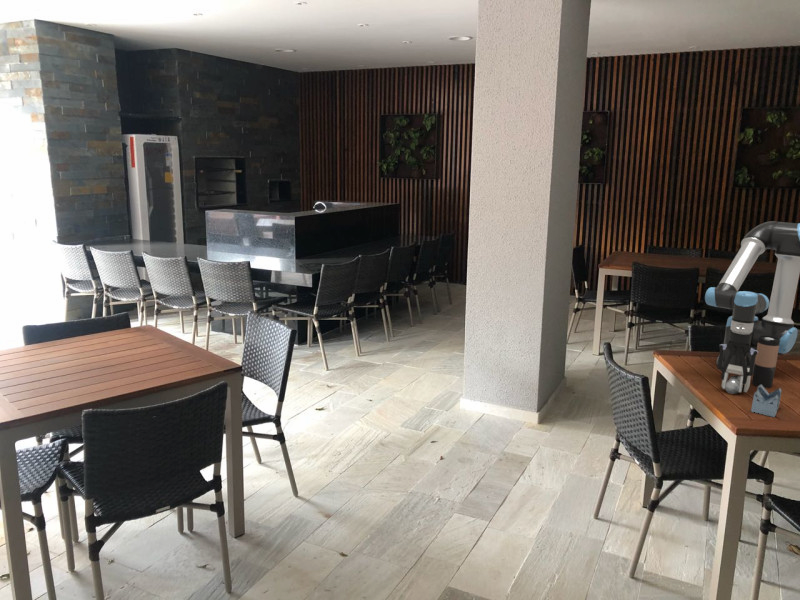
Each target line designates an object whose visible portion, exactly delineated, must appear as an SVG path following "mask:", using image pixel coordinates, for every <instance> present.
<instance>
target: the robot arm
mask: <svg viewBox="0 0 800 600" xmlns="http://www.w3.org/2000/svg"><path fill="white" fill-rule="evenodd" d="M766 250H774V255H775V256H776V258H777V263H776V269H775V273H774V279H773V285H772V290H771V295H770V299H769V298H768V296H767V295H765V294H764V293H757V292H753V291H748V290H747V291H746V290H743V291H739V290H740V288H741V286H742V285H743V283H744V281H745V280H746V278H747V276H748V275H749V272H750V271H751V269H752V268H753V266H754V264H755V263H756V261H757V260H758V257H759V256H760V255H762V254H763V253H765V251H766ZM799 278H800V222H799V223H795V222H786V221H785V222H784V221H783V222H782V221H775V220H773V221H772V220H770V221H766V222H763V223H761V224H758V225H757V226H755V227H754V228H752V229H751V230H750V231H748V233H746V234H745V236H744V237H743V239H742V240H741V242H740V248H739V250H738V252H737V253H736V255H735V256H734V258H733V260H732V261H731V264H729V266H728V268H727V270H726V272H725V273H724V275H723V276H722V278H721V280H720V281H719V283H718V285H717V286H716V287H715V286H713V287H712V286H711V287H709V288H708V289H706V292H705V295H704V301H705V303H706V305H708V306H711V307H715V308H721V309H728V310H731V311H732V315H731V316H728V318H727V319H726V320H727V321H726V325H725V334H724V339H723V343H721V344H719V346H718V349H719V355H718V356H717V358H716V365H717V367H716V368H717V370H719V371H721V376H720V379H721V381H722V380H724V382H723V387H722V389H723V390H725V384H726V383H727V377H728V378H729V375H728V371H726V370H727V368H728V366H729V364H731V365H736V366H741V367H742V368H743V374H742V375H740V377H741V379H740V386H739V391H738V393H742V392H743V388H744V386H743V385H745V384H746V382H747V376H751V377H753V372H754V365H755V359H756V355H757V353H758V350H757V345H758V339H759V336H760V335H768V336H774V337H777V338H779V339H780V343H779V350H778V354H787V353H789V352H790V351H791V350H792V348H793V346H794V345H795V343H796V340H797V337H798V331H799V330H798V329H797V328H796V327H794V325H795V322H794V321H793V319H792V313H793V308H794V305H795V304H794V302H795V298H796V292H797V288H798V283H799ZM767 310H768V311H767ZM765 311H767V313H766V315H765V316H763V317H762V318H761V320H759V317H758V316H756V315H758V314H762V313H764V312H765ZM747 368H750V370H749V372H748V371H747Z"/></svg>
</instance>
